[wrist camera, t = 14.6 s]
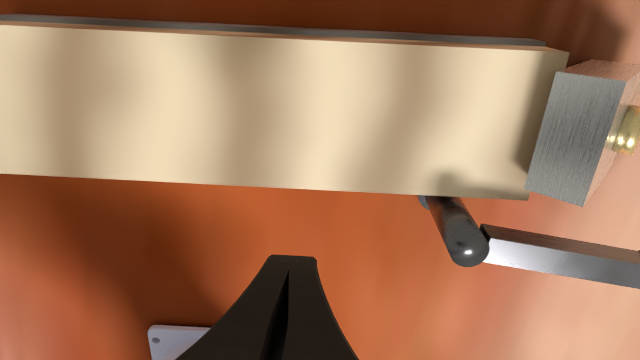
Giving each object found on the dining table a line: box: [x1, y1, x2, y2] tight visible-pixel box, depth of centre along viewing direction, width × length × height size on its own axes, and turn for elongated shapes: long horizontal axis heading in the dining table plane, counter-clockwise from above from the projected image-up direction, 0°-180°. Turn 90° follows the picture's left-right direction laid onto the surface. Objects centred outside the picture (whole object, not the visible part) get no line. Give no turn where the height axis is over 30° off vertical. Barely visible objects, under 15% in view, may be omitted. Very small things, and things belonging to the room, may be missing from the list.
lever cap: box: [524, 59, 640, 207], centre depth 17 cm, size 5×6×3 cm
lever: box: [425, 195, 640, 289], centre depth 20 cm, size 10×2×5 cm, turn 80°
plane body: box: [0, 14, 570, 200], centre depth 19 cm, size 24×7×4 cm, turn 87°
